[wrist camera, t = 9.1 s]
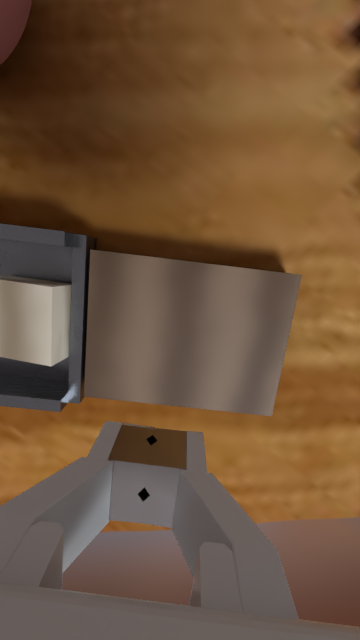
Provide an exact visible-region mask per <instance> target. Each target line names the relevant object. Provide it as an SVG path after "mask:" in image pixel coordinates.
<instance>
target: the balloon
mask: <svg viewBox="0 0 360 640" xmlns="http://www.w3.org/2000/svg"><path fill="white" fill-rule="evenodd" d="M31 4H32V0H0V65H1V64H2V63H3V62H4V61H5V60H6V59H7V58H8V57H9V55H10V54H11V53H12V51H13V50H14V48H15V47H16V45H17V44H18V42H19V40H20V38H21V36H22V34H23V31H24V29H25V26H26V23H27V20H28V17H29V13H30V9H31Z"/></svg>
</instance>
